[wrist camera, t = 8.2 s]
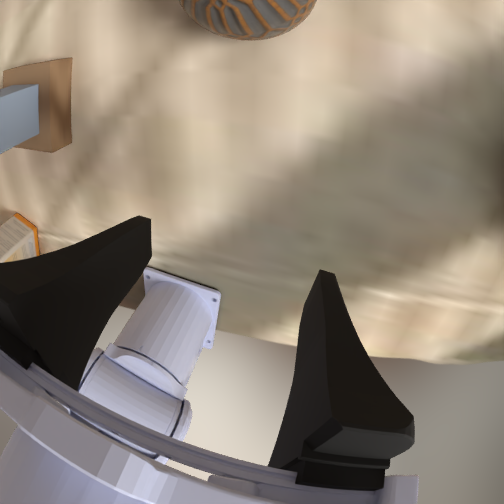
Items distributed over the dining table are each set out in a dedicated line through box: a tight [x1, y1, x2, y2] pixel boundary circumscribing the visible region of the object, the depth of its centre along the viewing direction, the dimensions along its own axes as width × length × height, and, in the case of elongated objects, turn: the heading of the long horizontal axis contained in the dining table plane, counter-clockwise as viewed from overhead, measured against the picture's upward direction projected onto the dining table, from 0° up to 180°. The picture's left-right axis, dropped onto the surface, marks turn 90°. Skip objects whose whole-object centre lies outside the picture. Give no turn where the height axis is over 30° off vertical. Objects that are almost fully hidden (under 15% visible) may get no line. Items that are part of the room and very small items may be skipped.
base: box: [3, 58, 72, 153], centre depth 19 cm, size 8×8×3 cm
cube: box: [0, 84, 39, 154], centre depth 16 cm, size 4×4×4 cm
